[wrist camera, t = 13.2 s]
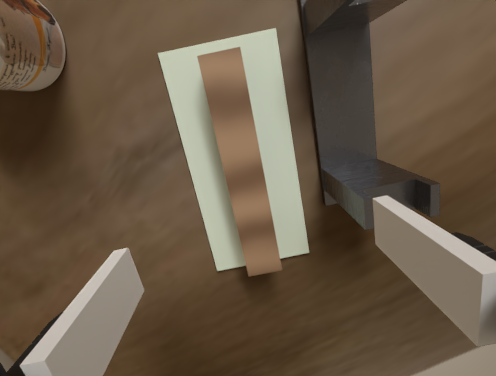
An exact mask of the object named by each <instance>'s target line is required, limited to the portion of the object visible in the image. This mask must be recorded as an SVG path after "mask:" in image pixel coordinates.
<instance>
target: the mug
mask: <svg viewBox="0 0 496 376" xmlns="http://www.w3.org/2000/svg"><path fill="white" fill-rule="evenodd" d="M65 56H66V49H65V42H64V37H63V35H62V32H61V29H60V27H59V25H58V23H57V22H56V20H55V19H54V17H53V16H52V14H51V13H50V12H49V11H48V10H47V8H46V7H45V6H43V5H42V4H41V3H40V2H39V1H37V0H0V90H10V91H37V90H41V89H43V88H46V87H47V86H49V85H51V84H52V83H53V82H54V81H55V80H56V79H57V78H58V76H59V75H60V74H61V72H62V69H63V67H64V63H65Z"/></svg>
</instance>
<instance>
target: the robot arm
mask: <svg viewBox="0 0 496 376" xmlns="http://www.w3.org/2000/svg"><path fill="white" fill-rule="evenodd" d="M373 213H374V229H375V244H376V245H377V246H378V247H379V248H380V249H381V250H382V251H383V252H384V253H385V254H386V255H387V256H388V257H389V258H390V259H391V260H392V261H393V262H394V263H395V264H396V265H397V266H398V267H399V268H400V269H401V270H402V271H403V272H404V273H405V274H406V275H407V276H408V277H409V278H410V279H411V280H412V281H413V283H414V284H415V285H416V286H417V287H418V288H419V289H420V290H421V291H422V292H423V293H424V294H425V295H426V296H427V297H428V298H429V299H430V300H431V301H432V302H433V303H434V304H435V305H436V306H437V307H438V308H439V309H440V310H441V311H442V312H443V313H444V314H445V315H446V316H447V317H448V318H449V319H450V320H451V321H452V322H453V323H454V324H455V325H456V326H457V327H458V328H459V329H460V330H461V331H462V332H463V333H464V334H465V335H466V336H467V337H468V338H469V339H470V340H471V341H472V342H473V343H474V344H475V345H476V346H477V347H480V346H485V345H490V344H495V343H496V252H495V251H494V250H493V249H492V248H490V247H488V246H484V244H483V243H481V242H479V241H477V240H476V239H474V238H472V237H469V236H466V235H463V234H460V233H457V232H456V233H451V234H450V233H448V232H447V231H445V230H443V229H442V228H440V227H438V226H437V225H435V224H434V223H432V222H430V221H429V220H427V219H425V218H424V217H422V216H420V215H419V214H417V213H415V212H414V211H412V210H410V209H409V208H407V207H405V206H404V205H402V204H401V203H399V202H397V201H396V200H394V199H392V198H391V197H389V196H387V195H386V196H381V197H376V198H373ZM143 292H144V288H143V286H142V283H141V280H140V278H139V275H138V272H137V270H136V267H135V264H134V262H133V259H132V257H131V254H130V251H129V249H128V248H124V249H119V250H115V251H113V253H112V254H111V255H110V256H109V257H108V259H107V260H106V261H105V262H104V264H103V265H102V266H101V267H100V268H99V270H98V271H97V272H96V273H95V274H94V276H93V277H92V278H91V279H90V281H89V282H88V283H87V284H86V285H85V287H84V288H83V289H82V290H81V291H80V293H79V294H78V295H77V296H76V298H75V299H74V300H73V301H72V302H71V304H70V305H69V306H68V307H67V308H66V310H65V311H64V312H61V313H60V314H59V315H58V316H56V317H55V318H54V319H53V320H51V321H50V322H49V323H48V324H47V326H46V327H45V328H44V329H43V330H42V331H41V333H40V335H38V336H37V337H36V339H35V340H34V341H33V342H32V344H31V345H30V346H29V347H28V348H27V349H26V350H25V351H24V353H23V354H22V355H21V356H20V357H19V359H18V360H17V361H16V362H15V363H14V365H13V366H12V367H11V368H10V369H9V370H8V371H7V372H6V371H5V369H4V368H3V366H2V364H1V363H0V376H103V374H104V372H105V370H106V368H107V366H108V364H109V362H110V360H111V358H112V356H113V354H114V352H115V350H116V348H117V346H118V343H119V341H120V339H121V337H122V335H123V333H124V331H125V329H126V327H127V325H128V323H129V321H130V319H131V317H132V315H133V313H134V311H135V309H136V306H137V304H138V302H139V300H140V298H141V296H142V294H143Z"/></svg>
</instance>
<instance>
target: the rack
mask: <svg viewBox="0 0 496 376" xmlns="http://www.w3.org/2000/svg"><path fill="white" fill-rule="evenodd" d="M405 1H406V0H299V5H300V13H301V22H302V30H303V38H304V46H305V54H306V62H307V70H308V78H309V86H310V95H311V103H312V111H313V119H314V127H315V135H316V143H317V151H318V160H319V168H320V176H321V184H322V192H323V200H324V204H325V206H328V205H333V204H339V205H340V206H341V207H342V208H343V209H344V210H345V211H347V212H348V213H349V214H350V215H351V216H352V217H353V218H354V219H355V220H356V221H357V222H358V223H359V224H360V225H361V226H362V227H363V228H364V229H365V230H369V229H374V213H373V198H376V197H381V196H386V195H387V196H389V197H391V198H392V199H394V200H396V201H397V202H399V203H401V204H402V205H404V206H405V207H407V208H409V209H410V210H413V209H417V210H419V211H421V212H422V213H424V214H426V215H428V216H429V217H434V216H439V211H440V183H437V182H435V181H432V180H430V179H427V178H425V177H422V176H419V175H417V174H414V173H412V172H409V171H407V170H404V169H401V168H399V167H396V166H394V165H391V164H389V163H386V162H383V161H381V160H378V159H377V153H376V136H375V118H374V100H373V83H372V65H371V47H370V30H369V23H370V22H371V21H373V20H375V19H376V18H378V17H380V16H381V15H383V14H385V13H386V12H388V11H390V10H391V9H393V8H395V7H396V6H398V5H400V4H401V3H403V2H405Z"/></svg>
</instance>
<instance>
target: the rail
mask: <svg viewBox="0 0 496 376" xmlns="http://www.w3.org/2000/svg"><path fill="white" fill-rule="evenodd" d="M197 58H198V62H199V66H200V71H201V75H202V79H203V83H204V88H205V92H206V96H207V101H208V105H209V109H210V113H211V118H212V122H213V126H214V130H215V135H216V139H217V143H218V148H219V152H220V156H221V160H222V165H223V169H224V173H225V177H226V182H227V186H228V190H229V195H230V199H231V203H232V207H233V212H234V216H235V220H236V225H237V229H238V233H239V237H240V242H241V246H242V250H243V254H244V259H245V263H246V267H247V272H248V276H249V277H250V276H255V275H260V274H265V273H270V272H275V271H280V270H282V266H281V261H280V256H279V250H278V245H277V240H276V235H275V229H274V224H273V219H272V213H271V208H270V203H269V197H268V192H267V187H266V181H265V176H264V171H263V165H262V160H261V155H260V150H259V144H258V139H257V134H256V128H255V123H254V118H253V112H252V107H251V102H250V96H249V91H248V86H247V80H246V75H245V70H244V65H243V59H242V54H241V49H240V47H236V48H232V49H227V50H222V51H218V52H213V53H208V54H204V55H199V56H197Z"/></svg>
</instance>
